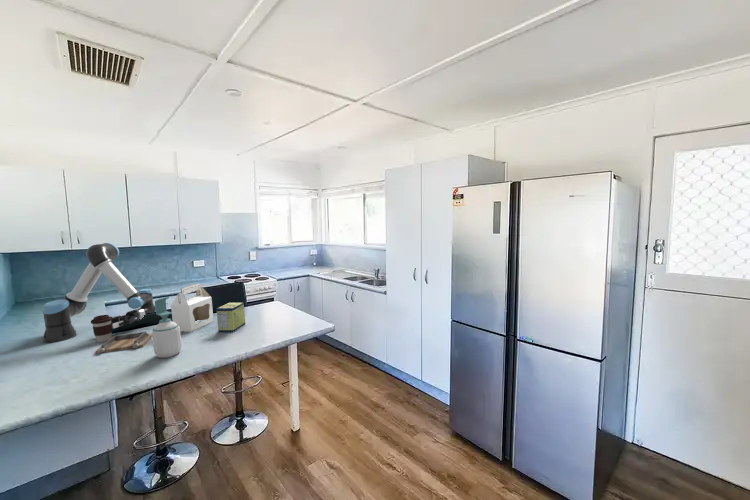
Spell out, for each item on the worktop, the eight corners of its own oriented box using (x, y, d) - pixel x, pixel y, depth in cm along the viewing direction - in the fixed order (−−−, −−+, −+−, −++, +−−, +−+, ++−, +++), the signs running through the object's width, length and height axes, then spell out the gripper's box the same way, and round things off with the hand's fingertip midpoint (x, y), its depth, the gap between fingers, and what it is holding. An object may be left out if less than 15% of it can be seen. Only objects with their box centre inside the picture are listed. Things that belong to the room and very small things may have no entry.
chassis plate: (94, 355, 174) (93, 347, 174) (110, 341, 194) (110, 335, 193) (141, 348, 181) (141, 341, 181) (153, 335, 201) (152, 329, 201)
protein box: (245, 324, 217) (244, 302, 216) (233, 332, 202) (231, 308, 200) (231, 324, 219) (229, 302, 217) (217, 332, 203) (215, 308, 202)
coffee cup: (91, 344, 190) (87, 320, 188) (96, 339, 199) (93, 315, 197) (112, 341, 194) (109, 317, 193) (116, 336, 203) (113, 313, 202)
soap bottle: (161, 361, 163) (155, 301, 160) (150, 356, 170) (143, 298, 166) (186, 352, 174) (181, 296, 170) (174, 348, 180) (169, 293, 177)
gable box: (190, 332, 206) (186, 289, 203) (172, 331, 208) (168, 289, 205) (213, 320, 228) (210, 282, 225) (197, 320, 230) (193, 282, 227)
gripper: (151, 321, 215) (121, 332, 194) (120, 320, 219) (87, 331, 198) (150, 310, 214) (120, 320, 193) (118, 309, 218) (85, 319, 197)
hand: (103, 326), depth 196 cm, fingers open, 13 cm apart
